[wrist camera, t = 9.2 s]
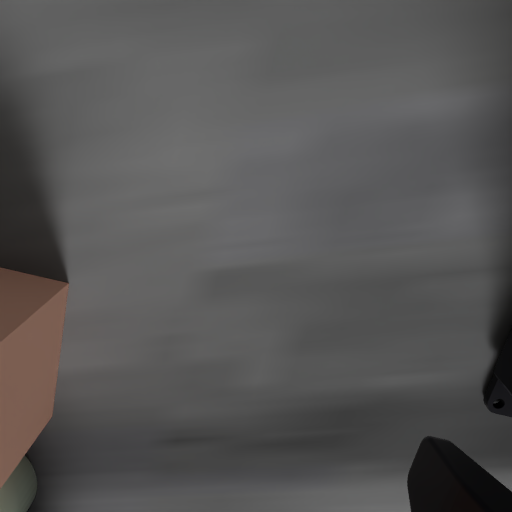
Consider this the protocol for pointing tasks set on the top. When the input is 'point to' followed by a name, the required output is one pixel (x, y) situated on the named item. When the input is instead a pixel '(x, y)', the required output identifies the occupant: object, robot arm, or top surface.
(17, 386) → the tea box
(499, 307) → the top surface
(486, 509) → the robot arm
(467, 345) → the top surface
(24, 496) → the spice jar
